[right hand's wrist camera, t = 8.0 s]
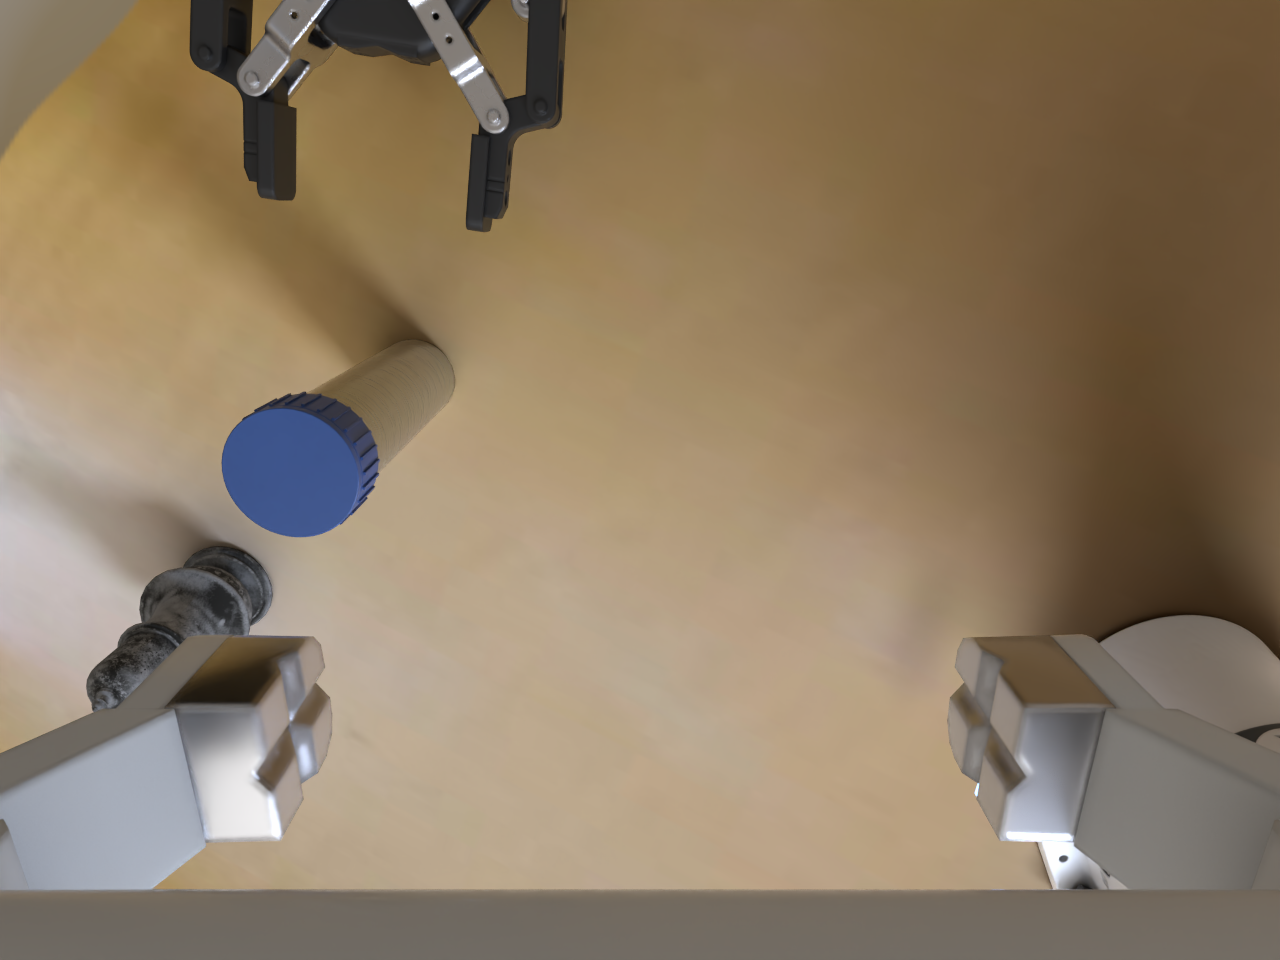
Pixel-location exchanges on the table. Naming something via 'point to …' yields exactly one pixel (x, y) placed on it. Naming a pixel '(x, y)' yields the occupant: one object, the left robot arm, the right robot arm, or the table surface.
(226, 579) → the grey stone tiered figure
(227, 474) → the lid
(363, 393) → the jar
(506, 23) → the table surface
